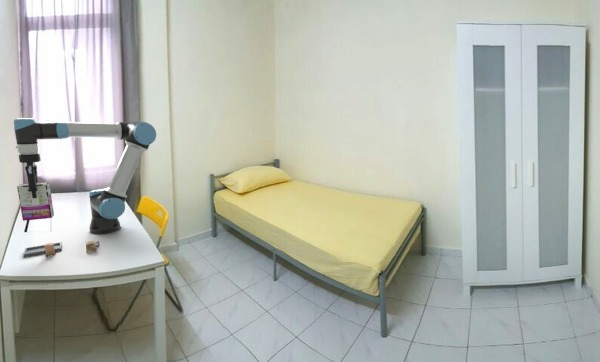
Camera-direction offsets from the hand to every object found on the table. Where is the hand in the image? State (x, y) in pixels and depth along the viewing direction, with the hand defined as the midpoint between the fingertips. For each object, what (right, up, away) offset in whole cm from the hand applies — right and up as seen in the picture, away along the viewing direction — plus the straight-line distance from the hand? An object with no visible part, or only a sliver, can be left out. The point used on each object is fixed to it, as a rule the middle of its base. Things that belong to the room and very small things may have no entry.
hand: (36, 202), depth 157 cm
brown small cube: (+6, -24, +1) cm, 25 cm away
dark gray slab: (+19, -22, +13) cm, 32 cm away
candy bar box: (0, -7, +2) cm, 8 cm away
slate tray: (0, -23, +5) cm, 24 cm away
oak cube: (+21, -23, +7) cm, 32 cm away
